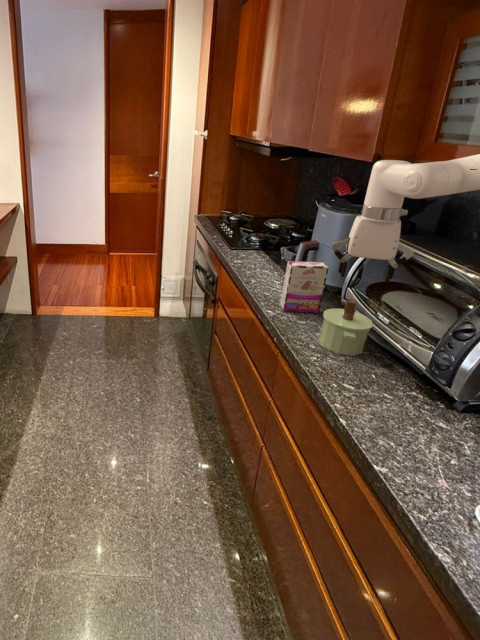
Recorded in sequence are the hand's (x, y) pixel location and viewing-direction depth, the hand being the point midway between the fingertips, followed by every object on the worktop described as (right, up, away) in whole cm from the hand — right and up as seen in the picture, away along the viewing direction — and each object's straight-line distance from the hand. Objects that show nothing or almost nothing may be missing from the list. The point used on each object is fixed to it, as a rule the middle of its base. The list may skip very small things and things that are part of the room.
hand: (363, 278), depth 100 cm
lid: (-1, -12, +6) cm, 13 cm away
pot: (-1, -19, +9) cm, 21 cm away
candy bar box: (-1, -11, +30) cm, 32 cm away
